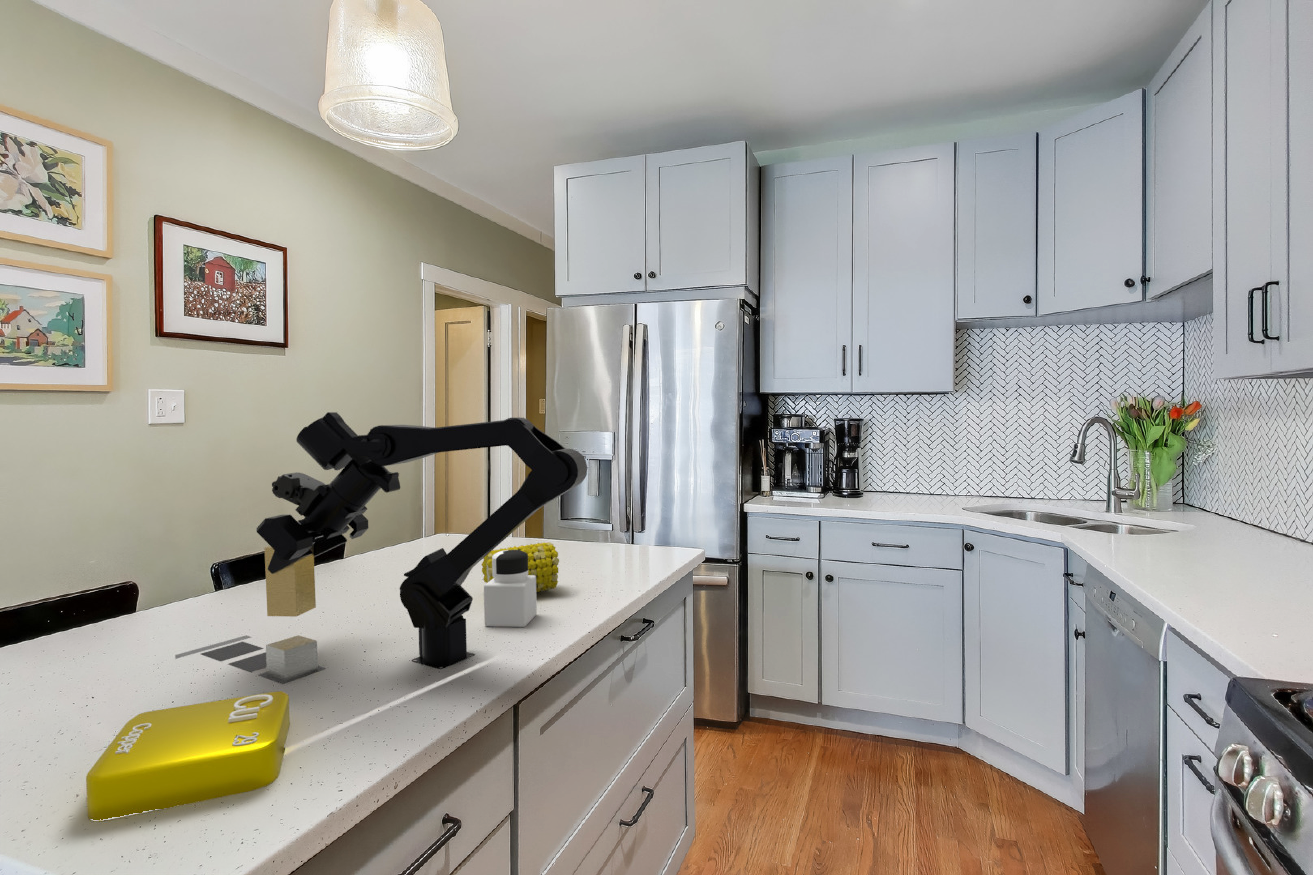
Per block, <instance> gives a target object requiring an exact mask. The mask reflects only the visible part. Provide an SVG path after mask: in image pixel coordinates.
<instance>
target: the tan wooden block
mask: <svg viewBox="0 0 1313 875" xmlns="http://www.w3.org/2000/svg"><path fill="white" fill-rule="evenodd" d="M310 550H311V551H312V552H313V554H311V555H309V556H307V557H305V558H303V559H301V560H299V561H298V562H296V563H294V564H292V565H290V566H288V567H286V568H284V569H282V570H280V571H278V572H276V573H274V574H272V573H271V572H270V571H269V570H268V566H269V564H270V561H271V558H272V556H273V553H274V551H275V550H274V549H273V548H272V547H271V546H270V545H268V546H265V547H264V564H265V565H264V566H265V568H264V569H265V570H264V571H265V587H266V588H265V589H266V590H265V591H266V610H267V611H266V612H267V615H266V616H267V617H290V618H291V617H293V618H294V617H295V618H297V617H298V616H301V615H302V614H303V615H304V614H305V613H307V612H309V611H312V610H314V609H316V608H317V604H316V602H317V601H316V580H315V579H316V578H315V577H316V574H315V557H314V548H313V546H312V547H311V548H310Z"/></svg>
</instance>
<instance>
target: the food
mask: <svg viewBox="0 0 1313 875" xmlns="http://www.w3.org/2000/svg"><path fill="white" fill-rule="evenodd" d="M504 550H521V551H523V552H526V553H527V554H528V575H535V576H536V593H539V592H541V591H546V590H547V591H549V590H552V589H555V588H557V586H558V583H559V581H558V579H559V576H558V575H559V567H558V566H559V563H560V558H558V557H559V552H558V551H557V550H556V546H554V543H552V542H550V541H549V542H541V543H540V542H537V543H534V544H533V543H530V544H525V545H523V544H522V545H520V546H516V545H515V546H513V547H512V546H507V548H506V547H505V548H499V549H493V550H492V551H491V552H490V553H489V554H487V555H486V556H485V557H484V558H483V559H482V560H483V561H482V563H481V566H482V568H481V573H482V574H483V575H484V576H483V581H484V583H485V584H486V583H488V582H489V581H491V580H492V579H493V578H494V577H493V576H492V556H493V555H494V554H496V553H497V552H500V551H504Z"/></svg>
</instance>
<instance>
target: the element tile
mask: <svg viewBox="0 0 1313 875" xmlns="http://www.w3.org/2000/svg"><path fill="white" fill-rule="evenodd" d="M290 718H291V717H290V697H289V694H288V693H287V692H284V691H281V690H278V691H272V692H271V691H270V692H264V693H263V692H262V693H260V694H258V693H257V694H253V695H251V694H250V695H246V696H245V695H244V696H240V697H234V698H233V697H232V698H226V699H221V700H219V699H218V700H213V701H208V702H207V701H206V702H201V703H196V704H195V703H194V704H189V705H182V706H175V707H168V708H163V709H156V710H151V711H145V712H141V713H139V714H137V715H136V716H134V717H132V718H131V719H129V720H128V721H127V722H126V723H125V724H124V726H123V727H122V728H121V729H120V731H119V732H118V733H117V734H116V736H115V737H114V739H113V740H112V741H111V742H110V744H108V746H107V747H106V749H105V750H104V752H103V753H102V754H101V755H100V757H98V759H97V760H96V761H95V763H94V764H93V766H92V767H91V769H90V770H89V771H88V772H87V774H86V777H85V785H86V786H85V787H86V808H87V811H86V812H87V818H88V817H89V819H93V820H100V819H101V820H103V819H108V818H112V817H120V816H124V815H129V814H133V813H142V812H143V811H149V810H155V809H162V810H165V809H164V808H167V809H171V808H170V807H172V808H175V807H174V806H177V805H181V806H185V805H184V804H186V805H190V804H194V803H199V802H204V800H205V801H210V800H214V799H219V798H224V797H228V796H235V795H238V794H242V793H247V792H252V791H256V790H259V789H261V788H264V787H267V786H269V785H270V784H271V783H274V781H276V780H277V779H278V777H279V776H280V773H281V768H282V764H283V760H284V755H285V751H286V747H285V744H286V740H287V737H288V732H289V728H290V724H291V720H290ZM198 801H199V802H198ZM177 807H178V806H177ZM89 819H88V820H89Z"/></svg>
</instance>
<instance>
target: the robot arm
mask: <svg viewBox="0 0 1313 875" xmlns="http://www.w3.org/2000/svg"><path fill="white" fill-rule="evenodd" d="M296 443H297V444H298V445H299V446H300V447H301V448H302V449H303V450H304V451H305V452H306V454H308V455H309V456H310V457H311V458H312V459H313V460H314V461H315V462H316V463H317V464H318V465H319V466H320V467H321V468H322V469H323V470H324V471H330V470H332V469H334V471H339V473H338V474H337V475H336V476H335V477H334V479H333V480H332V481H330V483H328V484H327V483H326V484H325V483H324V482H322V481H320V480H318V479H316V478H314V477H311V476H310V475H308V474H306V473H303V472H291V473H284V474H281V475H279V476H278V477H277V479H276V480H275V481H272V482H271V487H272V488H271V492H272V494H273V495H274V496H275V497H276V498H279V499H283V500H284V501H285V500H286V501H288V502H289V503H292V504H293V505H296V506H297V507H296V508H295V511H296V512H297V513H298V514H299V515H300V516H301V517H302V516H303V517H304V518H303V519H298V520H297V519H296V518H295V517H293V515H292V514H278V515H275V516H274V515H273V516H268V517H265V518H264V519H263V520H262V521H261V522H260V524H259V525H258V526H257V527H256V533H257V534H258V535H259V536H260V537H261V538H262V539H263V541H265V542H266V543H267V544H268V546H271V547H272V548H273V549H274V550H275V551H274V553H273V556H272V558H271V561H270V564H269V566H268V570H269V571H270V572H271V573H272V574H274V573H276V572H278V571H280V570H282V569H284V568H286V567H288V566H290V565H292V564H294V563H296V562H298V561H299V560H301V559H303V558H305V557H307V556H309V555H311V554H313V552H312V551H311V550H310V548H311V547H312V546H313V548H314V558H316V557H317V556H320V555H321V554H324V553H326V552H329V551H330V550H332V549H335V548H337V547H338V546H339V547H340V546H341V545H343V544H346V543H347V542H348V539H347V537H345V536H344V534H346V533H347V532H348V531H349V530H350V529H352V530H351V532H350V533H349V538H350V539H351V540H354V539H357V538H360V537H362V536H363V534H364V533H366V532H367V530H368V529H369V519H368V518H367V517H366V516H365V515H363V514H364V513H366V511H367V510H368V508H367V506H366V505H367V504H368V503H369V502H370V501H371V500H372V499H373V497H374V496H376V495H377V493H378V492H379V491H380V489H381V490H382V491H383V492H384V493H392V492H395V491H396V492H397V491H399V490H400V489H401V482H400V480H399V477H400V473H399V472H398V471H396V472H393V471H392V472H391V471H390V470H388V468H387V466H394V465H400V464H401V465H402V464H407V463H410V462H413V461H418V460H420V459H421V460H422V459H425V458H427V457H430V456H433V455H436V454H439V453H440V454H441V453H445V452H455V451H465V450H466V451H467V450H475V449H483V448H496V447H504V446H505V447H506V446H508V447H509V448H510V449H511V450H512V451H513V452H514V453H515V454H516V456H518V458H520V460H521V461H522V462H523V463H524V465H526V466H527V467H528V468H529V469H530V470H531V471H529V473H528V474H527V476H526V478H525V479H524V481H523V482H522V485H521V486H520V488H519V489H518V490H517V491H516V492H515V493H514V494H513V495H512V496H511V497H510V498H509V499H507V500H506V501H505V502H504V503H503V504H502V505H501V506H499V508H498V509H496V510H495V511H494V512H493V513H491V515H490V516H488V517H487V518H486V519H485V520H484V521H482V523H480V524H479V525H478V526H477V527H476V528H474V530H473V531H471V532H470V533H469V534H468V535H467V536H466V537H465V538H464V539H463V540H462V541H460V542H459V543H458V544H457V545H456V546H454V548H452V549H451V550H450V551H449V552H448V553H447V552H446V551H445V549H444V547H442V548H440V549H437V550H435V551H433V552H431V553H428V554H426V555H425V556H423V558H421V560H420V561H419V562H418V563H417V564H416V566H415V567H414V568H413V569H411V570H409V571H407V572H404V574H403V576H404V577H406V578H405V579H404V580H403V581H402V582H401V584H400V586H399V599H400V602H401V604H402V605H403V607H404V608H405V609H406V611H407V612H408V615H409V618H410V621H411V624H412V626H413V628H415V629H416V628H417V629H418V655H419V656H418V657H416V658H413V659H411V660H410V661H411V662H412V663H416V664H419V665H423V666H426V667H430V668H434V669H437V670H443V669H446V668H448V667H450V666H453V665H455V664H458V663H460V662H463V661H465V660H468V659H469V658H472V657H474V656H476V654H475V653H473V652H468V651H467V619H466V618H464V614H465V613H467V612H469V610H470V609H471V606H472V603H473V596H472V595H471V594H470V593H469V592H468V591H467V590H466V589H465V588H464V587H463V586H462V585H463V583H464V582H465V580H466V579H467V577H468V576H469V574H470V572H472V570H473V568H474V567H476V565H477V564H478V563H479V562H481V561H482V560H484V559H483V558H484V557H485V556H486V555H487V554H489V553H490V552H491V551H492V550H495V549H496V547H498V546H499V545H500V544H501V543H502V542H504V540H506V539H507V538H508V537H509V536H511V534H512V533H514V532H515V531H516V530H517V529H518V528H519V527H521V525H523V524H524V523H525V522H526V521H527V520H528V519H529V518H530V517H532V516H533V515H534V514H535V513H536V512H537V511H539V509H541V508H542V507H544V506H545V505H547V504H549V503H550V502H552V501H554V500H556V499H558V498H559V497H560V496H562V495H564V494H566V493H567V492H569V491H571V490H572V489H574V488H576V487H577V486H579V485H580V484H582V483H583V482H584V480H585V479H586V476H587V475H588V464H587V460H586V459H585V457H584V455H583V454H582V453H581V452H579V451H577V450H576V449H573V448H566V447H564V446H563V445H562V444H561V443H560V442H558V441H557V440H555V439H553V437H551V436H549V435H548V434H546V433H545V432H543V431H542V430H541V429H539V428H538V427H536V426H535V425H534V424H533V423H532V422H531V421H530V420H529V419H528V418H525V417H520V416H519V417H518V416H517V417H508V418H506V419H502V420H494V421H486V422H485V421H483V422H475V423H468V424H467V423H466V424H465V423H463V424H456V425H455V424H454V425H448V426H438V427H432V426H424V425H411V424H386V425H383V424H382V425H376V426H373V427H372V428H370V430H369V431H368V433H367V434H362V435H360V434H359V435H358V434H357V433H356V432H355V431H354V430H353V429H352V428H351V427H350V426H349V425H348V424H347V423H346V422H345V421H344V419H343V417H342V416H341V415H340V414H339V413H338V412H337V411H336V412H332V411H331V412H329V411H327V412H326V414H325V415H324V416H322V417H320V418H318V419H316V420H314V421H313V422H311V423H310V424H309V425H307V426H305V427H303V428H302V429H301V430H300V431H299V433H298V434H297V437H296Z"/></svg>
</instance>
